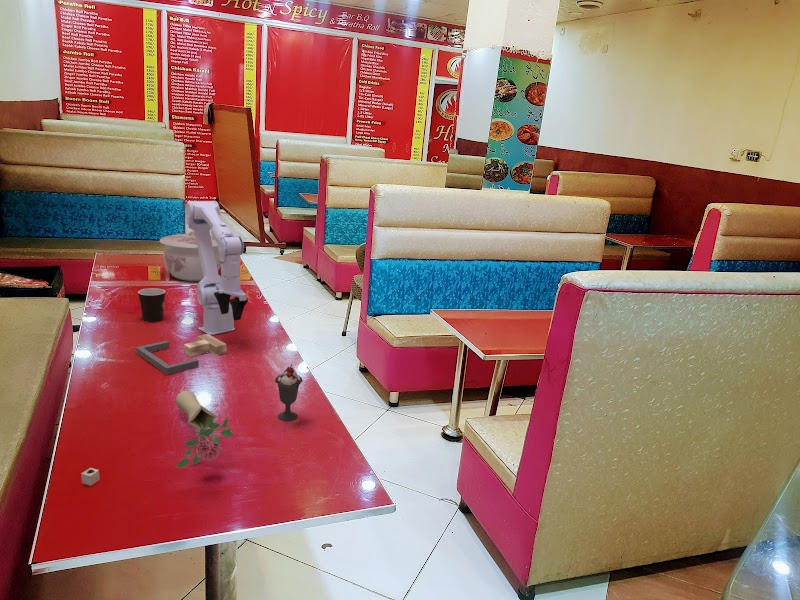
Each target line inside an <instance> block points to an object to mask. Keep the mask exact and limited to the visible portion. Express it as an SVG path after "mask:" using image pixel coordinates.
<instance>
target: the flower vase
mask: <svg viewBox="0 0 800 600" xmlns="http://www.w3.org/2000/svg"><path fill="white" fill-rule="evenodd" d="M175 405H176V406H177V408H178V409H179V410H182V411H183V412H184V413H186V414H187V417H188V419H187V424H189V425H191V426H192V427H194V428H195V429H197V430H198V431H199V432H198V436H197V438H198V439H197V441H196V439H192V440H187V441H185V442H184V443H183V445H184V446H187V447H193V448H192V449H191V448H189V449H187V451H185V453H184V456H186V457H188V458H185V457H184V458H183V459H182V460H181V459H180V461H179V462H178V463H177V465H176V466H175V468H179V469H180V468H183V467H186V466H188V465H189V464H190V458H191V457H192V455H193V452H194V450H195V451H196V454H195V455H194V457H193V459H192V466H194V465H196V464H198V463H199V462H200V461H201V460H202V461H210V462H211V461H213V460H215V459H216V458H219V457H220V455H221V454H222V452H223V447H222V444H221V440H220V438H219V436H218V435H216V436H215V435H214V434H217V433H220V434H221V436H222V437H223V438H225V437H227V438H230V437H231V438H232V437H234V436H235V435H234V433H233V432H232V431H231V430H232V429H233V427H234V426H232V427H229V428H227V426H228V422H229V420H228V417H225V419H224V420H223V423H222V424H221V425H220V423H219V422H215V420H216V418H217V417H218V415H216V414H214V413H213V412H212V411H210V410H209V409H208V408H206V407H204V406H203V405H202V404H201V403H200V401H199V399H197V396H196V394H195V393H194V392H192V391H190V390H183V391H181V392H180V393H178V394H177V396H176V397H175ZM223 428H224V429H223ZM225 428H226V429H225ZM219 429H222V431H220V430H219ZM218 430H219V431H218ZM215 431H217V432H215ZM211 435H212V436H213V437H212V438H211V440H210V439H209V438H208V437H209V436H211ZM201 437H202V438H201ZM204 437H205V440H204V441H203V438H204Z"/></svg>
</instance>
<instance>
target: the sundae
mask: <svg viewBox="0 0 800 600" xmlns="http://www.w3.org/2000/svg"><path fill="white" fill-rule="evenodd" d="M303 381H304V380H303V378H302V377H301V376H300V375H299V374H298V372H297V371H296V370H295V369H294V367H293V364H292V363H290V366H287V368H286V369H285V370H283V373H282V374H279V375H277V376H276V377H275V379H274V383H276V385H277V387H278V397H279V401H280V402H281V403H282V404H284V407H285V408H284V411H282V412H280V413H278V414H277V419H278V420H280V421H282V422H292V421H295V420H297V419H298V418H299V416H298V414H297V413H296V412H294V411H291V405H292V404H293V403H295V402H296V401H297V398H298V395H299V394H298V393H299V387H300V385H301V383H302V382H303Z"/></svg>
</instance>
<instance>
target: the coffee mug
mask: <svg viewBox="0 0 800 600" xmlns="http://www.w3.org/2000/svg"><path fill="white" fill-rule="evenodd" d="M137 294H138V299H139V305H140V309H141V314H142V315H141V316H142V320H144V321H143V322H145V321H148V322H147V323H157V321H159V322H161V321H162V319H163V320H164V311H165V299H166V290H165V289H163V288H156V287H155V288H153V287H151V288H143V289H140V290H138V291H137Z"/></svg>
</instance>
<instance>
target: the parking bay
mask: <svg viewBox="0 0 800 600" xmlns="http://www.w3.org/2000/svg"><path fill="white" fill-rule="evenodd" d="M166 348H168V349H170V341H168V340H164V341H163V340H162V341H158V342H155V343H154V342H153V343H149V344H146V345H141V346H136V347H135V351H136V352H135V353H137V354H136V355H138V354H139V355H140V356H139V355H138V356H139V357H141V356H142V357H143V358H144V359H143V358H142V357H141V358H142V359H143V360H145V359H146V360H147V362H148V361H149V362H150V363H151V365H152V364H153V365H154V367H155V368H156V367H157V368H156V369H158V370H159V369H160V370H161V372H162V373H163V372H164V373H163V374H165V375H166V376H168V375H173V374H175V373H176V372H177V373H180V372H184V371H188V370H192V369H196V368H198V367H200V366H199V363H200V362H199V359H197V358H193V359H189V360H185V361H181V362H177V363H173V364H170V365H169V363H167V362H165V361H164V360H162V359H161V358H159V357H158V356H156V355H155V354H153V352H151V351H155V352H158V351H157V350H159V351H163V350H167V349H166ZM162 349H163V350H162ZM146 360H145V361H146ZM149 362H148V363H149ZM150 363H149V364H150ZM153 365H152V366H153ZM160 370H159V371H160Z"/></svg>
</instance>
